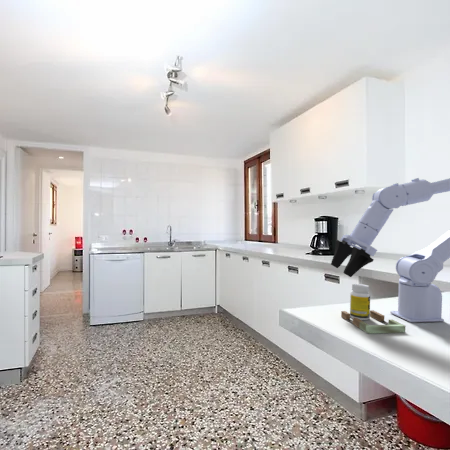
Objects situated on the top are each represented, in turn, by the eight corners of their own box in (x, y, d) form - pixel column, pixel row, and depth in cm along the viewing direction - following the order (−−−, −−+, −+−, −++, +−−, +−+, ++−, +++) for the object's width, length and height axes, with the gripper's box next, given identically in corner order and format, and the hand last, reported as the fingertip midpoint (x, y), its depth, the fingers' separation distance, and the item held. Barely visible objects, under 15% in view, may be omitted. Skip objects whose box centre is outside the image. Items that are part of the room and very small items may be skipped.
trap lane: (373, 316, 83) (373, 310, 83) (405, 332, 71) (405, 325, 71) (341, 316, 82) (341, 311, 82) (368, 333, 70) (368, 326, 70)
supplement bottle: (371, 321, 79) (372, 287, 79) (351, 319, 80) (352, 286, 80) (367, 315, 83) (368, 284, 83) (348, 314, 84) (349, 283, 84)
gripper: (343, 216, 90) (317, 256, 91) (371, 224, 76) (340, 271, 77) (362, 228, 91) (337, 267, 93) (394, 238, 77) (363, 285, 78)
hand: (340, 270), depth 85 cm, fingers open, 7 cm apart
